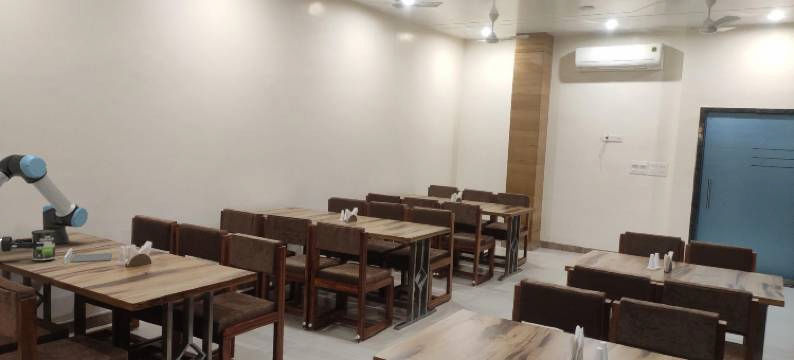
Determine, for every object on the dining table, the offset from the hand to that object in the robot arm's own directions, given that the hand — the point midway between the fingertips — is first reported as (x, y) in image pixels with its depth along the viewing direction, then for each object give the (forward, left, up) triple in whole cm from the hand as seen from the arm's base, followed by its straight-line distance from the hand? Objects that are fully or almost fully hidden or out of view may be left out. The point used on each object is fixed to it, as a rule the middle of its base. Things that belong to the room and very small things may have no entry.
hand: (53, 242), depth 299 cm
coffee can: (0, -4, -8) cm, 9 cm away
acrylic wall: (0, +7, -9) cm, 11 cm away
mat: (0, +18, -9) cm, 20 cm away
